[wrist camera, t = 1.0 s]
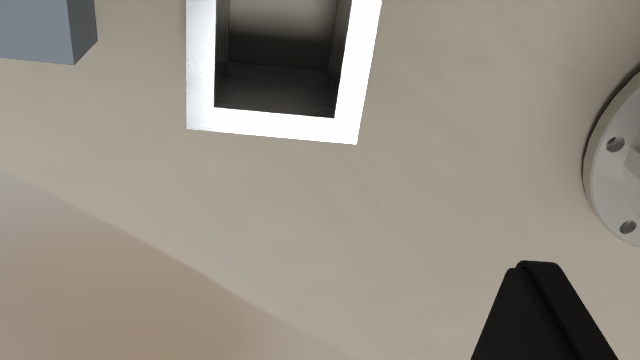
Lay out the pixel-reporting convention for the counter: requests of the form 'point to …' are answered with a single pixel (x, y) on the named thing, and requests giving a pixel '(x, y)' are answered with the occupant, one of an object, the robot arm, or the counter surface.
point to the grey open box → (278, 79)
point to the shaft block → (47, 30)
